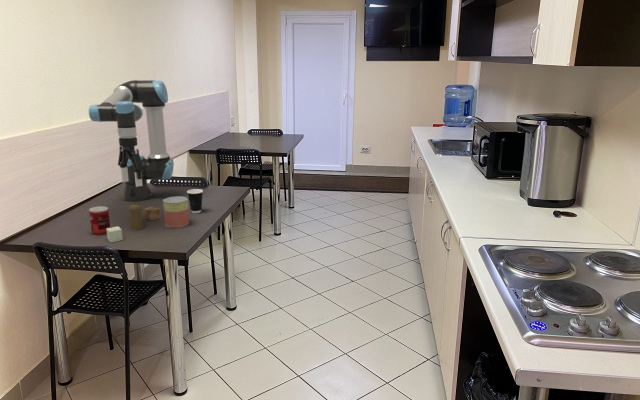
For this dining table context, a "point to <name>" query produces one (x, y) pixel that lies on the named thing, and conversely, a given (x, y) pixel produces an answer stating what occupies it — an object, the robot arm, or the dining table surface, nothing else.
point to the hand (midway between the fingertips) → (132, 183)
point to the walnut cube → (152, 213)
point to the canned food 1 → (99, 219)
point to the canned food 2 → (176, 211)
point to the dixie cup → (195, 200)
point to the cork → (136, 217)
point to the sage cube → (114, 234)
